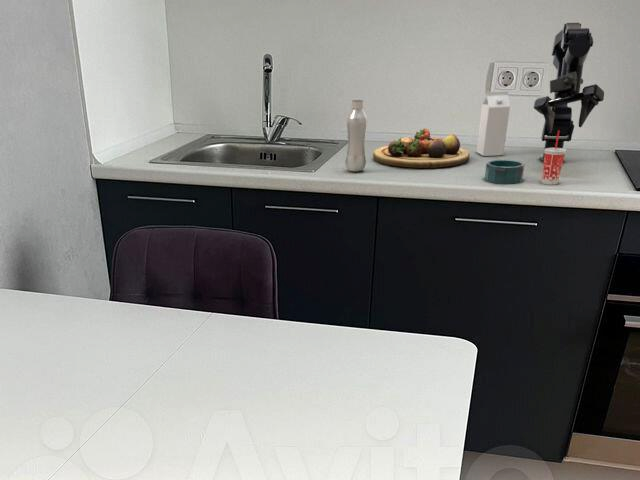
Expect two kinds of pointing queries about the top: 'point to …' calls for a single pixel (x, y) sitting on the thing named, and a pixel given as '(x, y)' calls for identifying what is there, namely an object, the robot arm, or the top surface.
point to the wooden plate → (423, 151)
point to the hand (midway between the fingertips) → (564, 130)
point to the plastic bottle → (356, 137)
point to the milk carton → (493, 124)
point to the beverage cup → (553, 164)
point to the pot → (504, 171)
